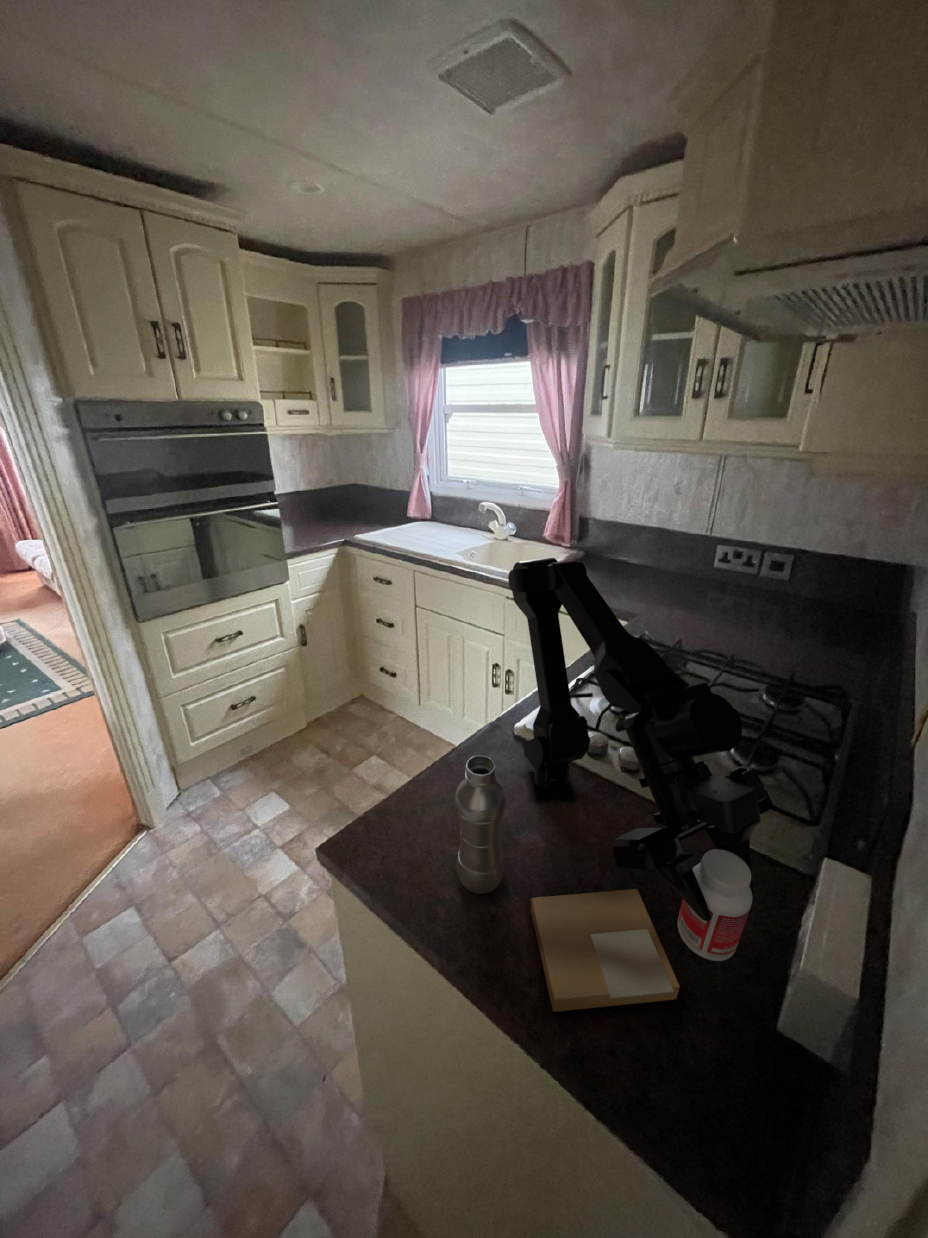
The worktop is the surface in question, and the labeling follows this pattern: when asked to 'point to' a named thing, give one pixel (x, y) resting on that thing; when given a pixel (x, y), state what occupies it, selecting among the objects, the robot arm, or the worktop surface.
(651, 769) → the robot arm
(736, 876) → the pill bottle
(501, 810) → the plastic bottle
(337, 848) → the worktop surface
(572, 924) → the labeled cardboard parcel
